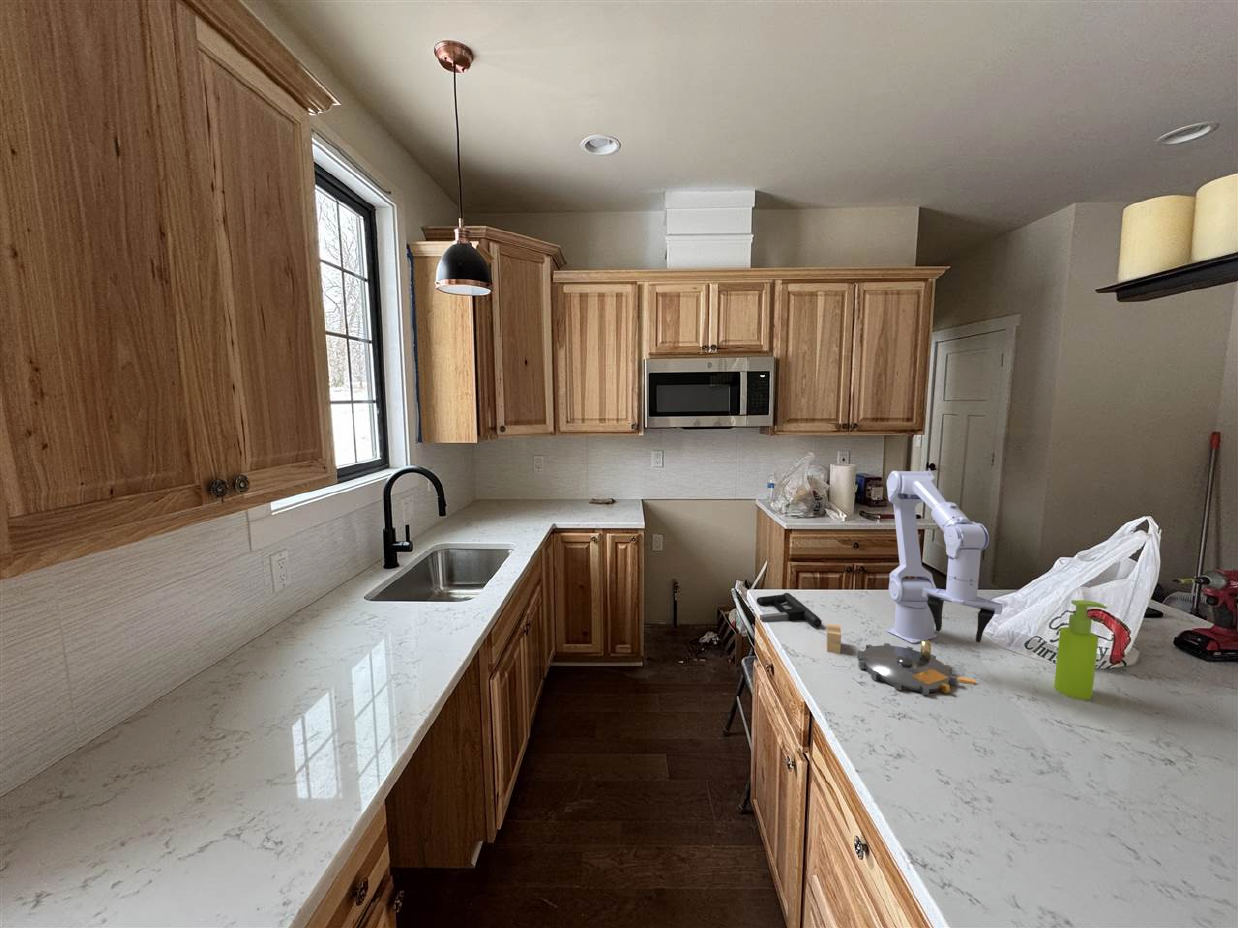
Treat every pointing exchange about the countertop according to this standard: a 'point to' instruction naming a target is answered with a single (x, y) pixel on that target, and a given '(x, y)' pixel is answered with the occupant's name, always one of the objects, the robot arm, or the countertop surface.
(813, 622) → the submachine gun
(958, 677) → the timing pointer
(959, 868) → the countertop surface
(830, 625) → the tan wooden block
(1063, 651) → the soap dispenser
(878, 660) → the sprocket
